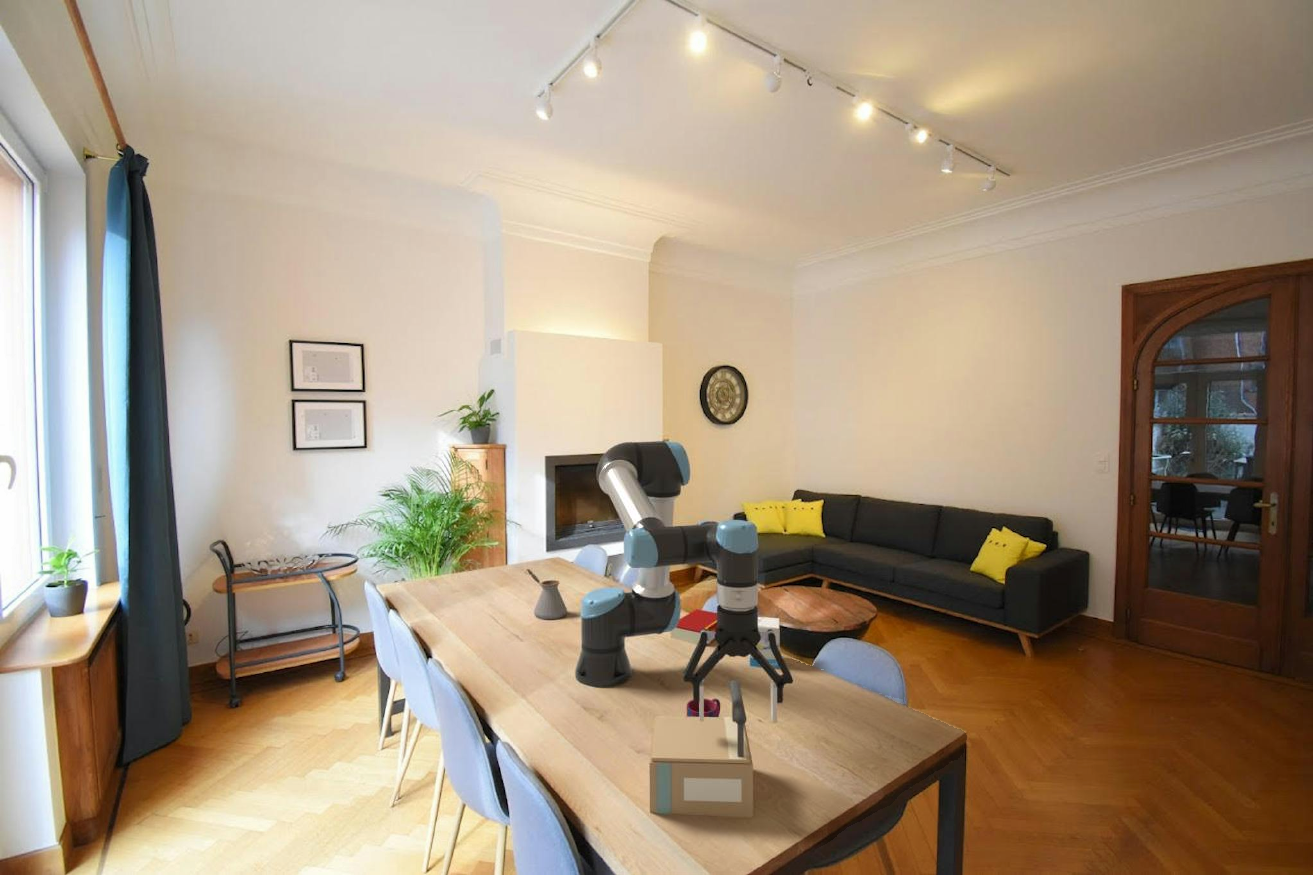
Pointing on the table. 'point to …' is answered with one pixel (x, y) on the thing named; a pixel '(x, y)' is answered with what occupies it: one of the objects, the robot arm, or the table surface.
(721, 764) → the carton
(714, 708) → the mug
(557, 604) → the coffee pot
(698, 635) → the book
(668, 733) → the flap
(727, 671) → the table surface
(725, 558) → the robot arm
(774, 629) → the ink box
